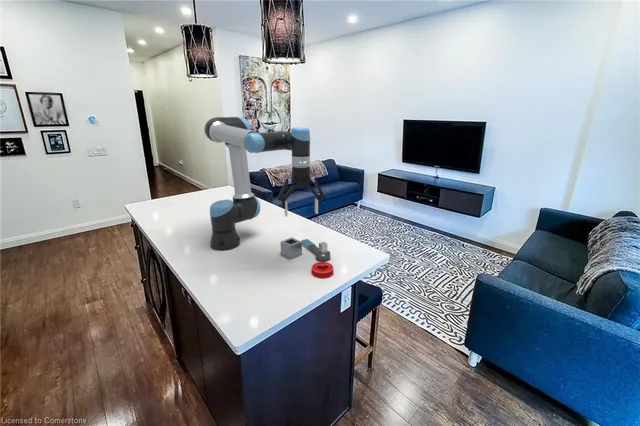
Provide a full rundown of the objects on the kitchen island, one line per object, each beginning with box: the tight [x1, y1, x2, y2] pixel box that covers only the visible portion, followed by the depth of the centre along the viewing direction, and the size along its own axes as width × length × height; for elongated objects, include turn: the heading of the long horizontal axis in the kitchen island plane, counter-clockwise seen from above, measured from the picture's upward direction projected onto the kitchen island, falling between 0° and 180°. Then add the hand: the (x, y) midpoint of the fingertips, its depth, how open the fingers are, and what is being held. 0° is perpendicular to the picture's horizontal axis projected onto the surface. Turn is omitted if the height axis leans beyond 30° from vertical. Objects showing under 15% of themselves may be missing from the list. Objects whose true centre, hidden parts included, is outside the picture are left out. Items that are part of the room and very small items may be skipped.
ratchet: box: [300, 238, 331, 263], centre depth 147 cm, size 22×7×8 cm, turn 31°
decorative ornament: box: [311, 261, 334, 279], centre depth 129 cm, size 10×10×3 cm
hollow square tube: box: [279, 237, 303, 260], centre depth 145 cm, size 7×7×7 cm
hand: (301, 214), depth 129 cm, fingers open, 13 cm apart
